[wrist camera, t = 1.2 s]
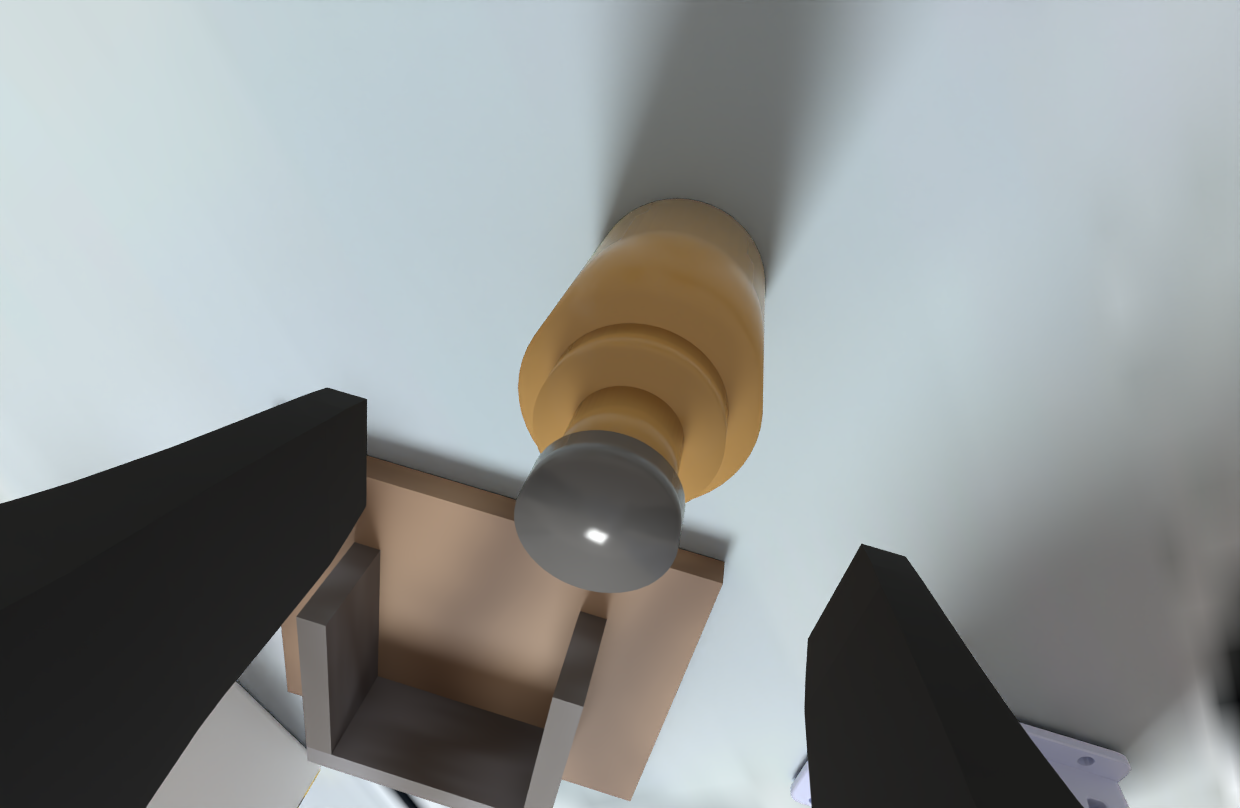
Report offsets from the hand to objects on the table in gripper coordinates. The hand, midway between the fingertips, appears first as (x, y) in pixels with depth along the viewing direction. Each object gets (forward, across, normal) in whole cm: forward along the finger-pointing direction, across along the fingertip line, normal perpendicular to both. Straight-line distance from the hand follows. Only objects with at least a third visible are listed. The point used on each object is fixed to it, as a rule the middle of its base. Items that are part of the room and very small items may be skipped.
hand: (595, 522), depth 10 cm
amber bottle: (+10, 0, 0) cm, 10 cm away
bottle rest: (+10, +4, +16) cm, 19 cm away
